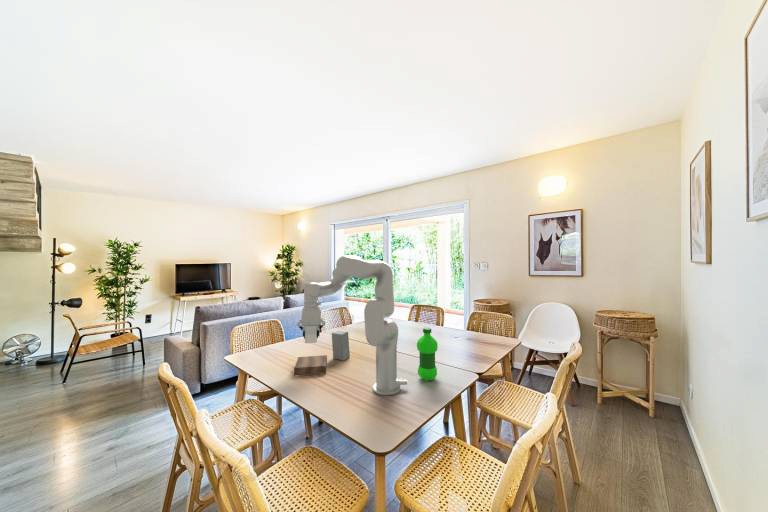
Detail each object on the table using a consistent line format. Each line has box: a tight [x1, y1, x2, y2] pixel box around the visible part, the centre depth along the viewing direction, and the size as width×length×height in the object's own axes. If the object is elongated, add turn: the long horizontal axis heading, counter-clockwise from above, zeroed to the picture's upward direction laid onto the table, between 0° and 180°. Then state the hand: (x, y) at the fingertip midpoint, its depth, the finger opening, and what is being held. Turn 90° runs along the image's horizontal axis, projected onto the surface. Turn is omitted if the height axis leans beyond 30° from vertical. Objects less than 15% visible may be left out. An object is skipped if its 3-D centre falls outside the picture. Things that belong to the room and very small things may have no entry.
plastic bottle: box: [416, 327, 438, 382], centre depth 140 cm, size 10×10×25 cm
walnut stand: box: [293, 354, 328, 376], centre depth 153 cm, size 16×16×4 cm
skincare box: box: [331, 330, 351, 361], centre depth 169 cm, size 8×7×16 cm
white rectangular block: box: [304, 326, 318, 344], centre depth 153 cm, size 6×6×9 cm
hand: (311, 337), depth 153 cm, fingers closed on white rectangular block, 6 cm apart
